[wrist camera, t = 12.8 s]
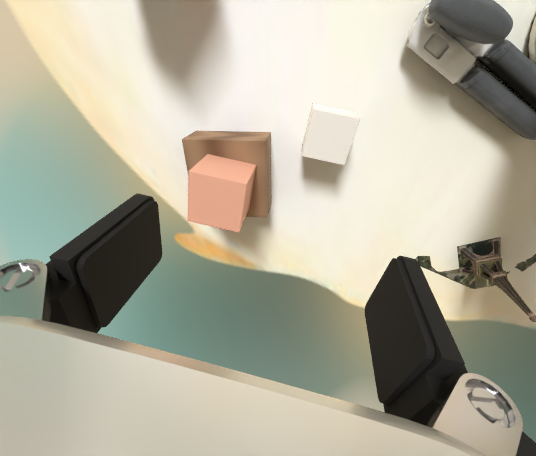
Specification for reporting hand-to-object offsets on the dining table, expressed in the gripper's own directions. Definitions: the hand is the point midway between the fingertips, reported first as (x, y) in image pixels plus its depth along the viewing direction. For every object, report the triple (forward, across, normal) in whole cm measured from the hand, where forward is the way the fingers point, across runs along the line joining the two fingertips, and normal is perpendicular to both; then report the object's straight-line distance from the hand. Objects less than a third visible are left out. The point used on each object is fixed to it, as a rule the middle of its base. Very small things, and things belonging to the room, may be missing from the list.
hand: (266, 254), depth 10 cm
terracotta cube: (+21, +8, +8) cm, 24 cm away
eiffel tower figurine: (+28, -29, +14) cm, 43 cm away
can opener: (+28, -17, -8) cm, 34 cm away
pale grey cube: (+27, -3, 0) cm, 27 cm away
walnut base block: (+26, +8, +8) cm, 29 cm away
